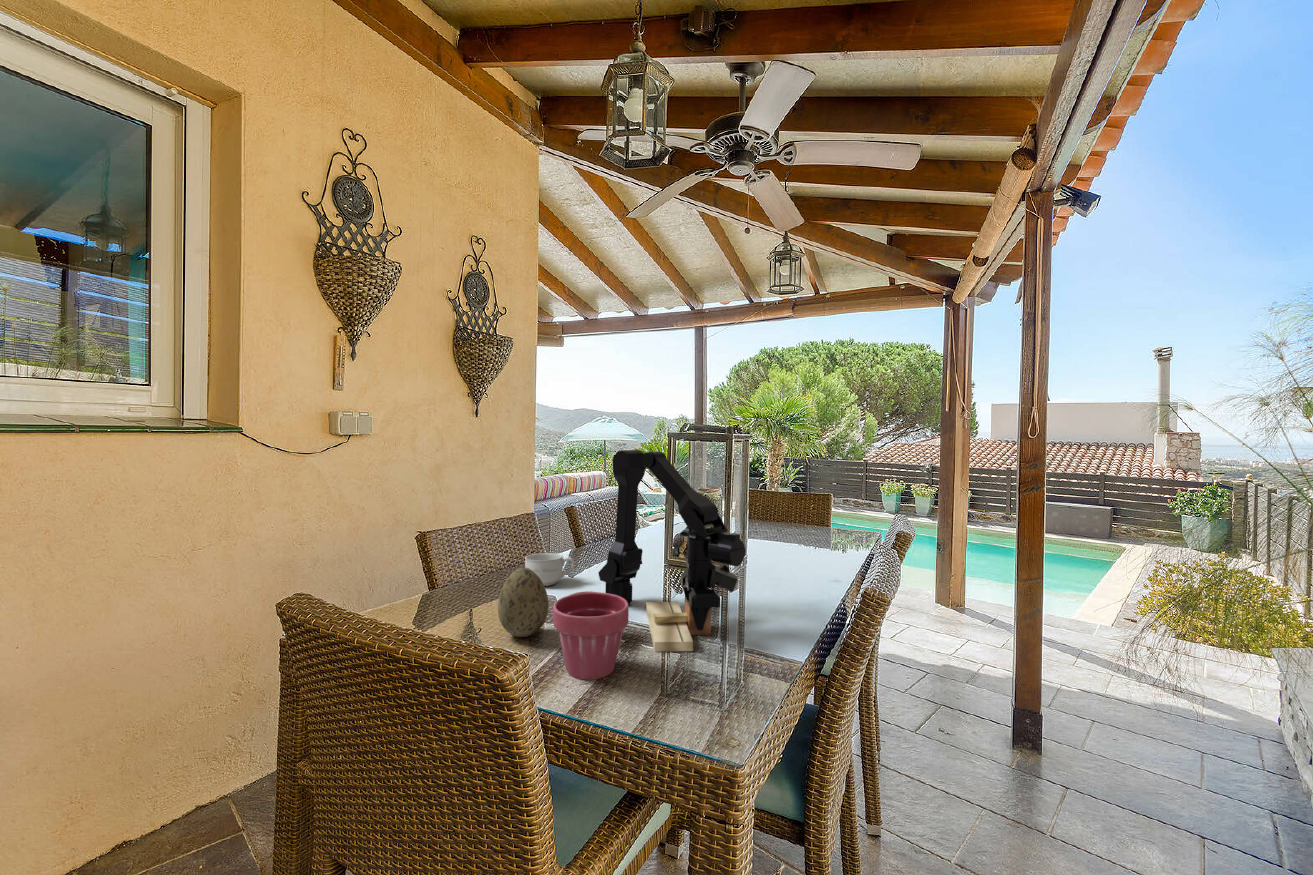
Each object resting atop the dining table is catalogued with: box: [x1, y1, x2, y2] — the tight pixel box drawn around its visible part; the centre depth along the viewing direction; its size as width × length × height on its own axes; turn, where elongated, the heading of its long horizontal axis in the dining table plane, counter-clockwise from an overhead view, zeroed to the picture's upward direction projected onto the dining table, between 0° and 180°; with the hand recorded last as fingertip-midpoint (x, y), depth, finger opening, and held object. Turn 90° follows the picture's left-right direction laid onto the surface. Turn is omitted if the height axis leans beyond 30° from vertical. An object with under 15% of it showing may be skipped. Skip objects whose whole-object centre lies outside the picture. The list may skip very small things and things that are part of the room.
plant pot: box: [552, 591, 630, 680], centre depth 109 cm, size 14×14×13 cm
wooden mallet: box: [653, 600, 712, 636], centre depth 129 cm, size 12×5×6 cm, turn 100°
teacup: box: [524, 552, 576, 587], centre depth 163 cm, size 14×11×8 cm
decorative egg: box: [497, 566, 550, 638], centre depth 125 cm, size 11×11×15 cm
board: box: [645, 601, 694, 653], centre depth 131 cm, size 8×25×2 cm, turn 5°
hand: (698, 625), depth 130 cm, fingers closed on wooden mallet, 5 cm apart
